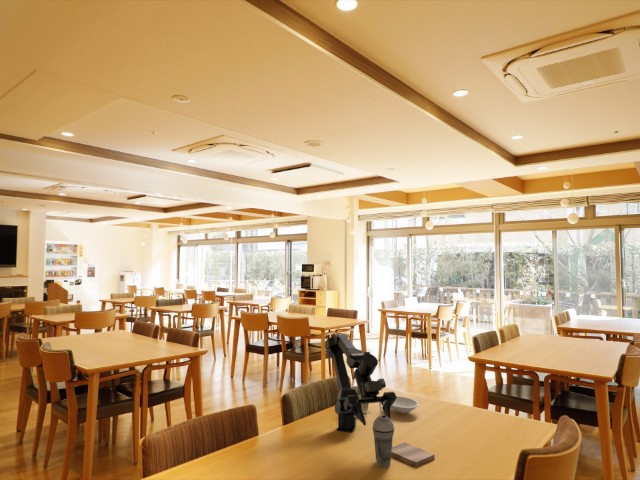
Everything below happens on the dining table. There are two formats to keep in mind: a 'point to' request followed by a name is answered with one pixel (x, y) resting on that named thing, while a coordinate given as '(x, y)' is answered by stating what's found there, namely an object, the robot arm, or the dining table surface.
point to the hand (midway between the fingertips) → (377, 423)
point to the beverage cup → (383, 439)
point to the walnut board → (411, 454)
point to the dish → (404, 404)
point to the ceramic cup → (363, 406)
